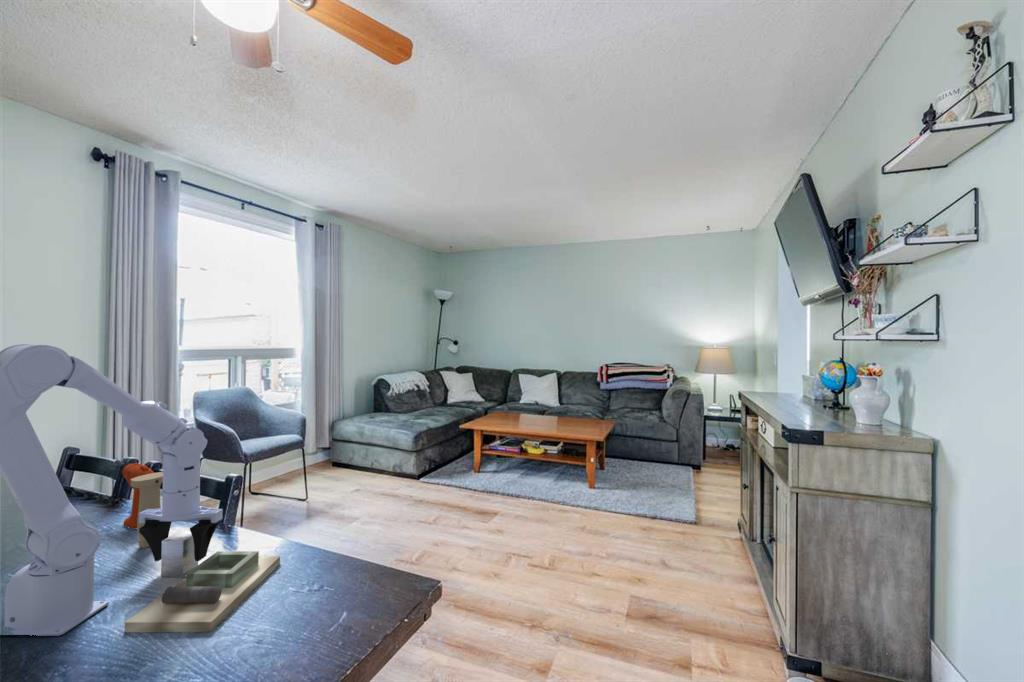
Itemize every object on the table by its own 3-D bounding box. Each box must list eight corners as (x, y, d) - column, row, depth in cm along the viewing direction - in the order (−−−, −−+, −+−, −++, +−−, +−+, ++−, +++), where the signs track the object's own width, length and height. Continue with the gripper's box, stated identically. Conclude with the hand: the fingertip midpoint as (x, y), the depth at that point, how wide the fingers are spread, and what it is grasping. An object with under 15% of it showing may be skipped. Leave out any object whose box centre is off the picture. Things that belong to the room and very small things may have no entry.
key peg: (161, 578, 79) (161, 540, 79) (177, 567, 83) (178, 531, 83) (182, 578, 79) (183, 540, 79) (198, 567, 83) (198, 531, 83)
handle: (172, 540, 94) (173, 473, 94) (138, 554, 88) (139, 482, 88) (158, 537, 95) (160, 471, 96) (124, 549, 89) (125, 479, 90)
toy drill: (124, 503, 111) (129, 448, 111) (159, 527, 102) (164, 467, 102) (100, 509, 107) (105, 452, 106) (134, 535, 98) (139, 472, 97)
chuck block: (124, 632, 64) (125, 605, 64) (214, 564, 84) (214, 544, 84) (210, 631, 64) (211, 605, 64) (279, 563, 84) (280, 543, 84)
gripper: (232, 481, 85) (232, 548, 85) (160, 481, 85) (159, 548, 85) (208, 493, 78) (207, 566, 78) (129, 493, 78) (128, 567, 78)
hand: (180, 558), depth 81 cm, fingers open, 7 cm apart
